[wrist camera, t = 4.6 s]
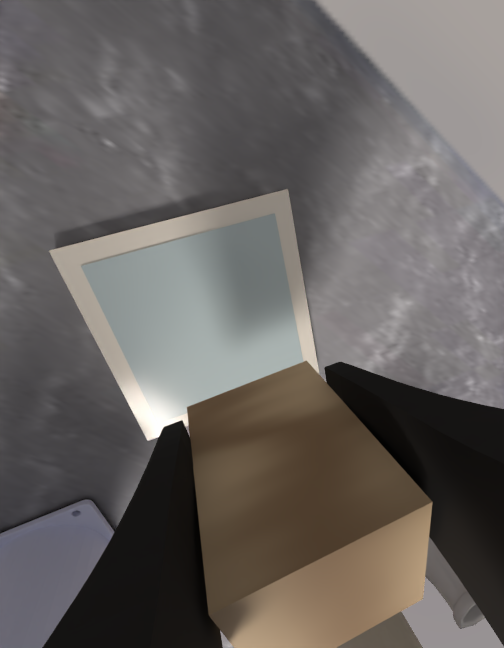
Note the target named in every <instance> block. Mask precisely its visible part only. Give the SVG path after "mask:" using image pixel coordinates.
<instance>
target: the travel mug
mask: <svg viewBox="0 0 504 648" xmlns="http://www.w3.org/2000/svg"><path fill="white" fill-rule="evenodd" d="M337 648H423V647H422V646H421V644H420V642H419V641H418V639H417V637H416V636H415V634H414V632H413V631H412V629H411V627H410V625H409V624H408V622H407V620H406V619H405V617H404V615H403V614H402V612H399V613H397V614H395V615H393V616H392V617H390V618H388V619H386V620H385V621H383V622H381V623H379V624H377V625H376V626H374V627H372V628H370V629H369V630H367V631H365V632H363V633H362V634H360V635H358V636H356V637H354V638H353V639H351V640H349V641H347V642H346V643H344V644H342V645H340V646H338V647H337Z"/></svg>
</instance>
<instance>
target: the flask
mask: <svg viewBox="0 0 504 648" xmlns="http://www.w3.org/2000/svg"><path fill="white" fill-rule="evenodd" d="M425 576H426V578H427V579H428V580H429V581H430V582H431V583H432V584H433V585H434V586H435V587H436V589H437V590H438V591H439V593H440V594H441V595H442V596H443V598H444V599H445V600H446V602H447V603H448V605H449V606H450V607H451V609H452V611H453V617H454V620H455V621H456V624H457V625H458V626H459V628H460V629H462V628H465V627H469V626H472V625H474V624H476V623H478V622H479V621H481V620H482V619H484V618H485V617H484V615H483V614H482V612H481V611H480V609H479V608H478V606H477V605H476V603H475V602H474V600H473V599H472V597H471V596H470V594H469V593H468V591H467V590H466V589H465V587H464V586H463V584H462V583H461V581H460V580H459V578H458V577H457V575H456V574H455V572H454V571H453V570H452V568H451V567H450V565H449V564H448V562H447V561H446V560H445V558H444V557H443V555H442V554H441V553H440V551H439V550H438V548H437V547H436V545H435V544H434V543H433V541H432V540H431V538H430V537H429V542H428V552H427V562H426V573H425Z"/></svg>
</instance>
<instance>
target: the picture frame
mask: <svg viewBox="0 0 504 648" xmlns="http://www.w3.org/2000/svg"><path fill="white" fill-rule="evenodd" d="M49 252H50V254H51V256H52V258H53V260H54V262H55V264H56V266H57V268H58V270H59V272H60V274H61V275H62V277H63V279H64V281H65V283H66V285H67V287H68V289H69V291H70V293H71V295H72V297H73V299H74V300H75V302H76V304H77V306H78V308H79V310H80V312H81V314H82V316H83V318H84V320H85V322H86V323H87V325H88V327H89V329H90V331H91V333H92V335H93V337H94V339H95V341H96V343H97V345H98V347H99V348H100V350H101V352H102V354H103V356H104V358H105V360H106V362H107V364H108V366H109V368H110V370H111V371H112V373H113V375H114V377H115V379H116V381H117V383H118V385H119V387H120V389H121V391H122V393H123V395H124V396H125V398H126V400H127V402H128V404H129V406H130V408H131V410H132V412H133V414H134V416H135V418H136V419H137V421H138V423H139V425H140V427H141V429H142V431H143V433H144V435H145V437H146V439H147V441H149V440H152V439H154V438H157V437H159V436H160V433H161V431H162V429H163V427H165V426H167V425H170V424H173V423H176V422H178V421H181V420H183V423H184V425H185V427H186V426H188V425H189V423H188V414H187V407H188V406H191V405H193V404H196V403H199V402H201V401H204V400H206V399H209V398H211V397H214V396H217V395H219V394H222V393H224V392H227V391H229V390H232V389H235V388H237V387H240V386H242V385H245V384H247V383H250V382H253V381H255V380H258V379H260V378H263V377H265V376H268V375H271V374H273V373H276V372H278V371H281V370H283V369H286V368H289V367H291V366H294V365H296V364H299V363H301V362H304V361H307V362H308V363H309V364H310V365H311V366H312V367H313V368H314V369H315V370H316V372H317V373H318V374H319V370H318V364H317V358H316V352H315V346H314V340H313V334H312V328H311V322H310V316H309V310H308V304H307V298H306V293H305V287H304V281H303V275H302V269H301V263H300V257H299V251H298V245H297V239H296V233H295V227H294V221H293V216H292V210H291V204H290V198H289V192H288V189H285V190H282V191H278V192H274V193H270V194H266V195H262V196H258V197H254V198H251V199H247V200H243V201H239V202H235V203H231V204H227V205H223V206H220V207H216V208H212V209H208V210H204V211H200V212H196V213H193V214H189V215H185V216H181V217H177V218H173V219H169V220H165V221H162V222H158V223H154V224H150V225H146V226H142V227H138V228H135V229H131V230H127V231H123V232H119V233H115V234H111V235H107V236H104V237H100V238H96V239H92V240H88V241H84V242H80V243H76V244H73V245H69V246H65V247H61V248H57V249H53V250H49Z"/></svg>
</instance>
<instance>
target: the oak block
mask: <svg viewBox="0 0 504 648" xmlns="http://www.w3.org/2000/svg"><path fill="white" fill-rule="evenodd" d="M187 414H188V423H189V433H190V440H191V448H192V457H193V471H194V480H195V490H196V499H197V509H198V518H199V528H200V538H201V547H202V557H203V566H204V576H205V585H206V595H207V604H208V614H209V616H210V618H211V619H212V620H213V621H214V623H215V624H216V625H217V626H218V628H219V629H220V630H221V632H222V633H223V634H224V635H225V637H226V638H227V639H228V640H229V642H230V643H231V644H232V645H233V647H234V648H337V647H338V646H340V645H342V644H344V643H346V642H347V641H349V640H351V639H353V638H354V637H356V636H358V635H360V634H362V633H363V632H365V631H367V630H369V629H370V628H372V627H374V626H376V625H377V624H379V623H381V622H383V621H385V620H386V619H388V618H390V617H392V616H393V615H395V614H397V613H399V612H401V611H402V610H404V609H406V608H408V607H409V606H411V605H413V604H415V603H417V602H418V601H420V600H422V599H423V593H424V583H425V573H426V562H427V552H428V542H429V532H430V522H431V512H432V501H431V500H430V499H429V497H428V496H427V495H426V494H425V493H424V492H423V491H422V490H421V488H420V487H419V486H418V485H417V484H416V483H415V482H414V481H413V479H412V478H411V477H410V476H409V475H408V474H407V473H406V472H405V470H404V469H403V468H402V467H401V466H400V465H399V464H398V463H397V461H396V460H395V459H394V458H393V457H392V456H391V455H390V454H389V452H388V451H387V450H386V449H385V448H384V447H383V446H382V445H381V443H380V442H379V441H378V440H377V439H376V438H375V437H374V436H373V434H372V433H371V432H370V431H369V430H368V429H367V428H366V427H365V426H364V424H363V423H362V422H361V421H360V420H359V419H358V418H357V417H356V415H355V414H354V413H353V412H352V411H351V410H350V409H349V408H348V406H347V405H346V404H345V403H344V402H343V401H342V400H341V399H340V397H339V396H338V395H337V394H336V393H335V392H334V391H333V390H332V388H331V387H330V386H329V385H328V384H327V383H326V382H325V381H324V379H323V378H322V377H321V376H320V375H319V374H318V373H317V372H316V370H315V369H314V368H313V367H312V366H311V365H310V364H309V363H308V362H307V361H304V362H301V363H299V364H296V365H294V366H291V367H289V368H286V369H283V370H281V371H278V372H276V373H273V374H271V375H268V376H265V377H263V378H260V379H258V380H255V381H253V382H250V383H247V384H245V385H242V386H240V387H237V388H235V389H232V390H229V391H227V392H224V393H222V394H219V395H217V396H214V397H211V398H209V399H206V400H204V401H201V402H199V403H196V404H193V405H191V406H188V407H187Z"/></svg>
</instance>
